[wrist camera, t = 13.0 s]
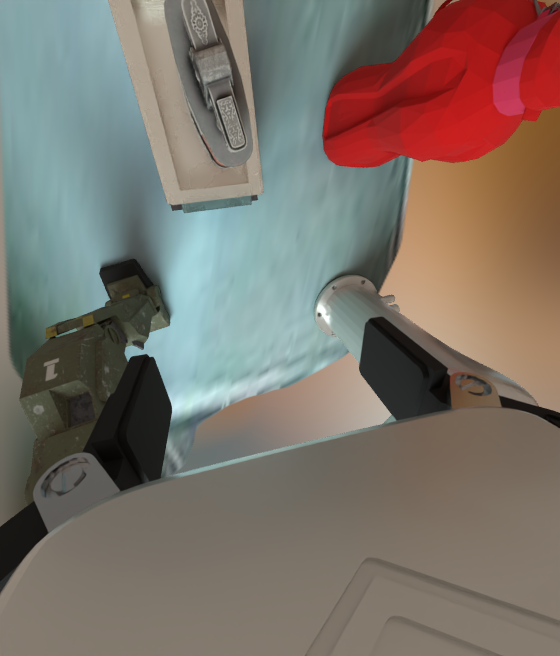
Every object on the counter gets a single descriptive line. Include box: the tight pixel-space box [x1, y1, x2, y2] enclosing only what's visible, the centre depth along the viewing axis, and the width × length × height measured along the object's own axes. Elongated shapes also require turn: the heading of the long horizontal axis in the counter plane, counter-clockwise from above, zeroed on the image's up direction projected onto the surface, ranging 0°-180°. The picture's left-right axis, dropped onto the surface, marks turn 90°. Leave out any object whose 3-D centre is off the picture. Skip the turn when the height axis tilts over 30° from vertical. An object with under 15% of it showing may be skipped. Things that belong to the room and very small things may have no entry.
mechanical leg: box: [20, 259, 170, 506], centre depth 28 cm, size 14×7×30 cm, turn 13°
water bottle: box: [322, 0, 560, 168], centre depth 24 cm, size 9×11×25 cm
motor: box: [108, 0, 264, 213], centre depth 25 cm, size 11×16×14 cm
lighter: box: [164, 0, 253, 169], centre depth 17 cm, size 8×3×10 cm, turn 17°
